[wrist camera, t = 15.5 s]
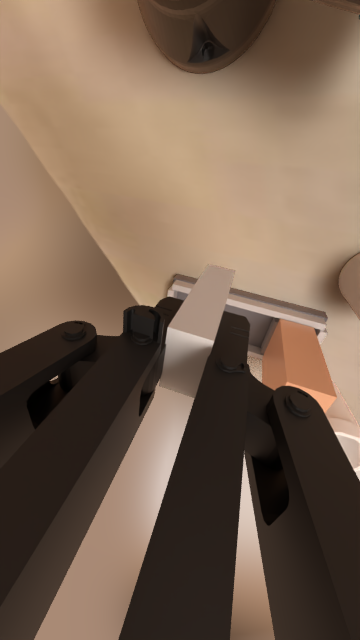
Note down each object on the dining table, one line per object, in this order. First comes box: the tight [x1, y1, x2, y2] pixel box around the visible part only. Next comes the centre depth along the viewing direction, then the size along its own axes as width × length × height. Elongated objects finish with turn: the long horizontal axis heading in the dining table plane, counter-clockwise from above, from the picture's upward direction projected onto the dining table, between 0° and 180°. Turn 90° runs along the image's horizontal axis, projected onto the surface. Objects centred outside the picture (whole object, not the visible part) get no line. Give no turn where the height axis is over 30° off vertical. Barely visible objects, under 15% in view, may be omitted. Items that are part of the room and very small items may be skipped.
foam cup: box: [325, 381, 360, 471], centre depth 40 cm, size 10×9×13 cm
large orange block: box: [261, 317, 337, 413], centre depth 33 cm, size 6×8×16 cm
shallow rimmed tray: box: [167, 274, 328, 360], centre depth 41 cm, size 25×10×4 cm, turn 81°
